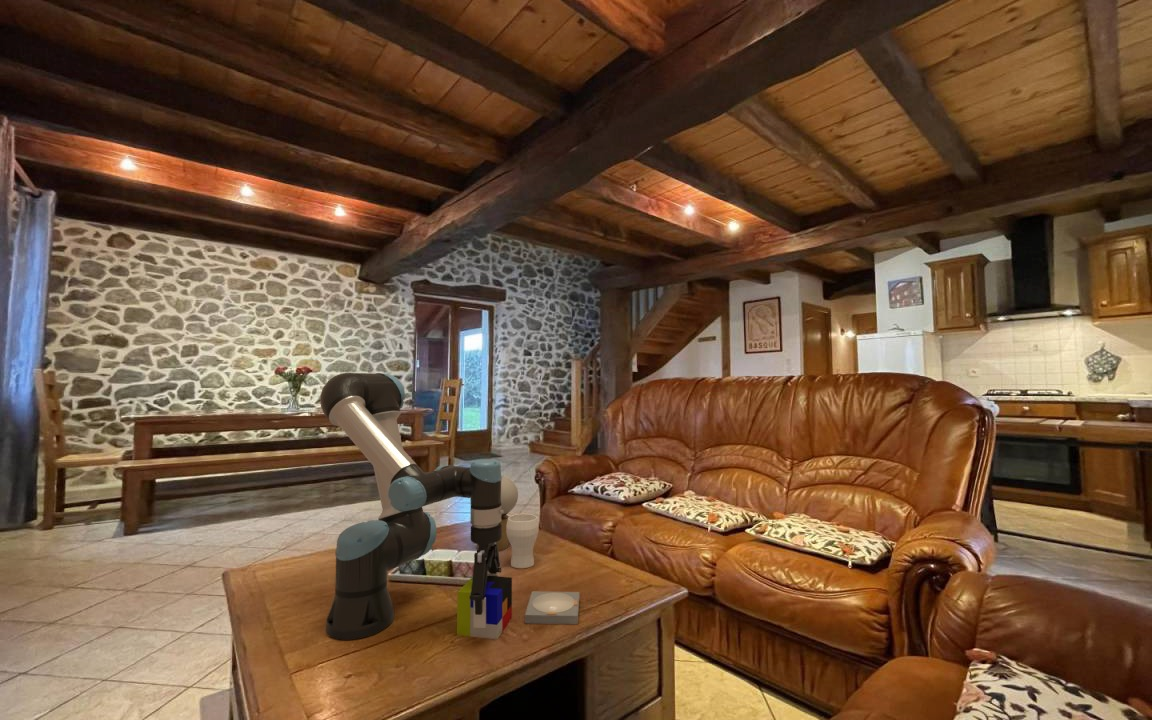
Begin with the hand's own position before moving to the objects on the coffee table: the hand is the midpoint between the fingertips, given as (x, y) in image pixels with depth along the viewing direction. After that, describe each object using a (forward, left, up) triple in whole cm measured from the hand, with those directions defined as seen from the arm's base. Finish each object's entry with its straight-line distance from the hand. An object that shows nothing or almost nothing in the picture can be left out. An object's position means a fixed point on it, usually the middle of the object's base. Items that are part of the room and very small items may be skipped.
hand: (486, 612), depth 111 cm
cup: (+3, +39, -3) cm, 39 cm away
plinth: (+16, +8, -3) cm, 18 cm away
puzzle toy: (0, 0, -4) cm, 4 cm away
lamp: (-9, +56, -3) cm, 57 cm away
